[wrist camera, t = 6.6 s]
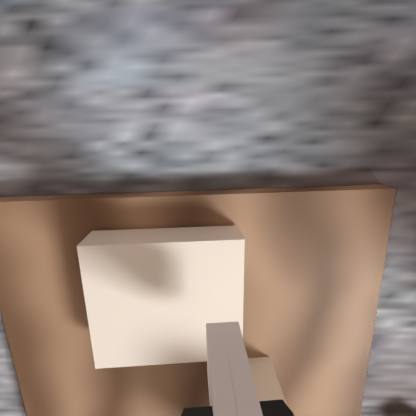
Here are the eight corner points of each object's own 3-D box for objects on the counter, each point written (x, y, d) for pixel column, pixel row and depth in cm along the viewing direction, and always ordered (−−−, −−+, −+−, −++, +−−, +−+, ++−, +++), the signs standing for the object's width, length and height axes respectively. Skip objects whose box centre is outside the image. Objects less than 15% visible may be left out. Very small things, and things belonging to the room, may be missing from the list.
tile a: (235, 330, 20) (107, 338, 19) (236, 224, 18) (93, 229, 17) (242, 359, 17) (95, 368, 17) (244, 239, 15) (76, 246, 15)
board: (49, 449, 23) (40, 470, 22) (-9, 197, 18) (-27, 202, 16) (345, 424, 25) (355, 442, 23) (381, 184, 19) (396, 188, 18)
